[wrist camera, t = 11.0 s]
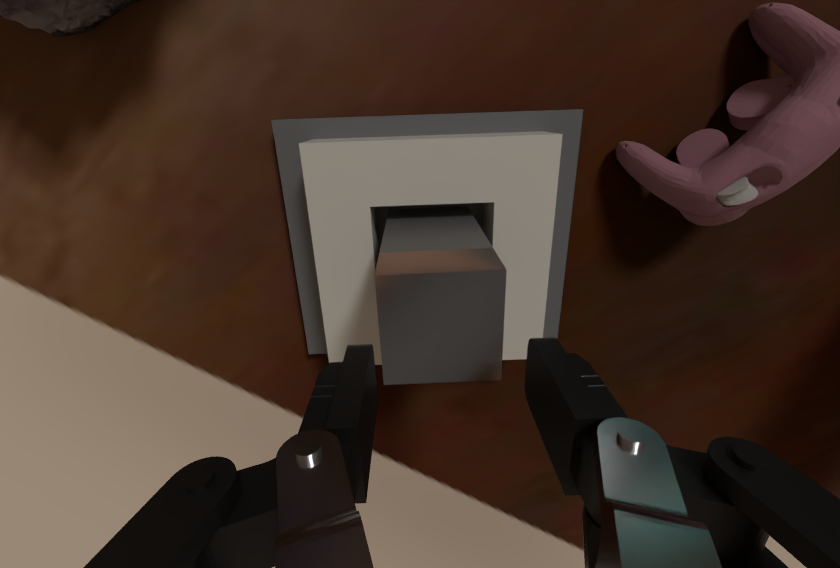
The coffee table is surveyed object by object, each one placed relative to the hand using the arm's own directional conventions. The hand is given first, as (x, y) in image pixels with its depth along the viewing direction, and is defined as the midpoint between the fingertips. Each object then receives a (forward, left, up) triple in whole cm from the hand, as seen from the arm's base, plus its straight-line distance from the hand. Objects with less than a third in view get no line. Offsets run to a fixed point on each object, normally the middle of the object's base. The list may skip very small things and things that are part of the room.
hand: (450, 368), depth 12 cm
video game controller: (-15, -6, -14) cm, 21 cm away
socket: (0, 0, -13) cm, 13 cm away
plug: (0, 0, -12) cm, 12 cm away
